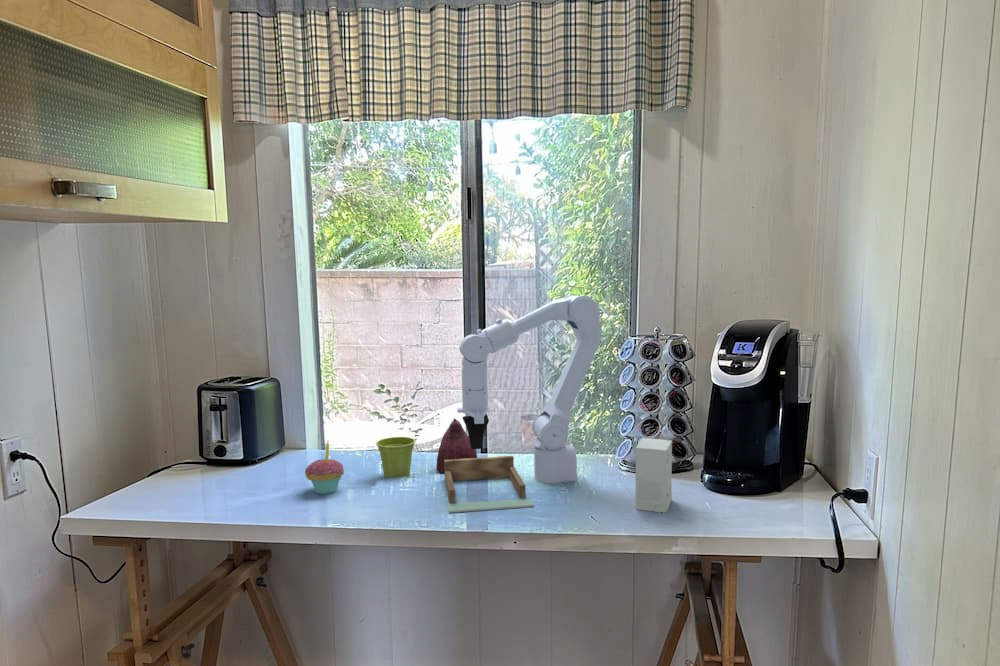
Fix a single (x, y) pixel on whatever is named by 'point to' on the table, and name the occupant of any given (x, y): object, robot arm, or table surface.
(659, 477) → the small box
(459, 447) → the vegetable
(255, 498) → the table surface
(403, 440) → the plant pot
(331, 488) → the cupcake
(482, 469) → the cart bed
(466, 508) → the green board
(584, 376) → the robot arm
